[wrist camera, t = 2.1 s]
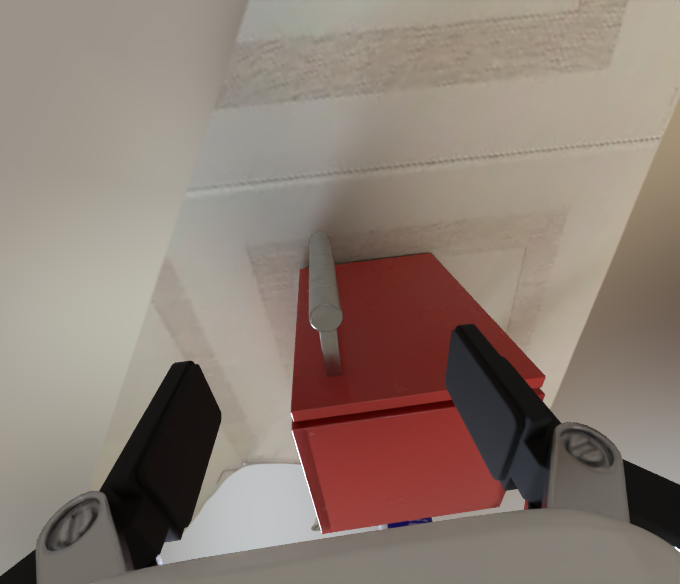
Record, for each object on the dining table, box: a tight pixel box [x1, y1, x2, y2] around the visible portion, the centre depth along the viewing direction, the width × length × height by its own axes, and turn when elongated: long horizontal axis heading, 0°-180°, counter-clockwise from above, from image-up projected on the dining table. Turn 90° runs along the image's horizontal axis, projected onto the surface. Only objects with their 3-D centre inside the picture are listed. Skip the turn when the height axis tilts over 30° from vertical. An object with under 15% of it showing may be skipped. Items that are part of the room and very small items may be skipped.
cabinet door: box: [291, 232, 545, 422], centre depth 20 cm, size 5×12×16 cm, turn 95°
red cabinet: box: [292, 388, 545, 534], centre depth 24 cm, size 12×13×16 cm
